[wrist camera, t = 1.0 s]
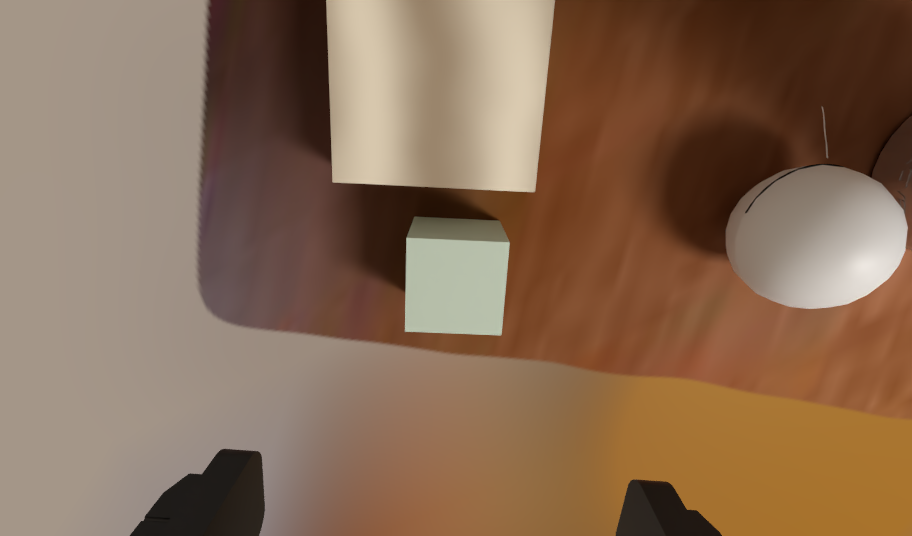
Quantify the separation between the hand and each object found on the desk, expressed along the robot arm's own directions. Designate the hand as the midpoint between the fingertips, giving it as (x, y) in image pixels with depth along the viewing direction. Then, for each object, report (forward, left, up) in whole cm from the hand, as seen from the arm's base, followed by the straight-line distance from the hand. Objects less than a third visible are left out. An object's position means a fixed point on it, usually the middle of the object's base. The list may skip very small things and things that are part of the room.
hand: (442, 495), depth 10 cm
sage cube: (0, 0, -18) cm, 18 cm away
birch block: (+1, -10, -19) cm, 21 cm away
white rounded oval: (-18, -4, -19) cm, 26 cm away
